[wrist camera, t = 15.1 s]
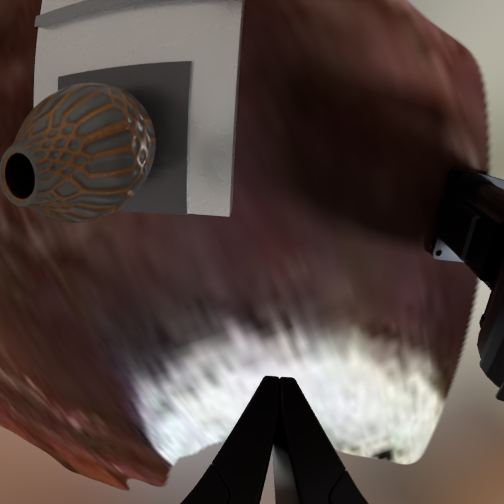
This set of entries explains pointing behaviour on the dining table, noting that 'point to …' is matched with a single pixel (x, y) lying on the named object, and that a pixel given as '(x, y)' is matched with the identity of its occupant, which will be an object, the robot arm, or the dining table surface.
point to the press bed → (158, 85)
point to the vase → (80, 153)
